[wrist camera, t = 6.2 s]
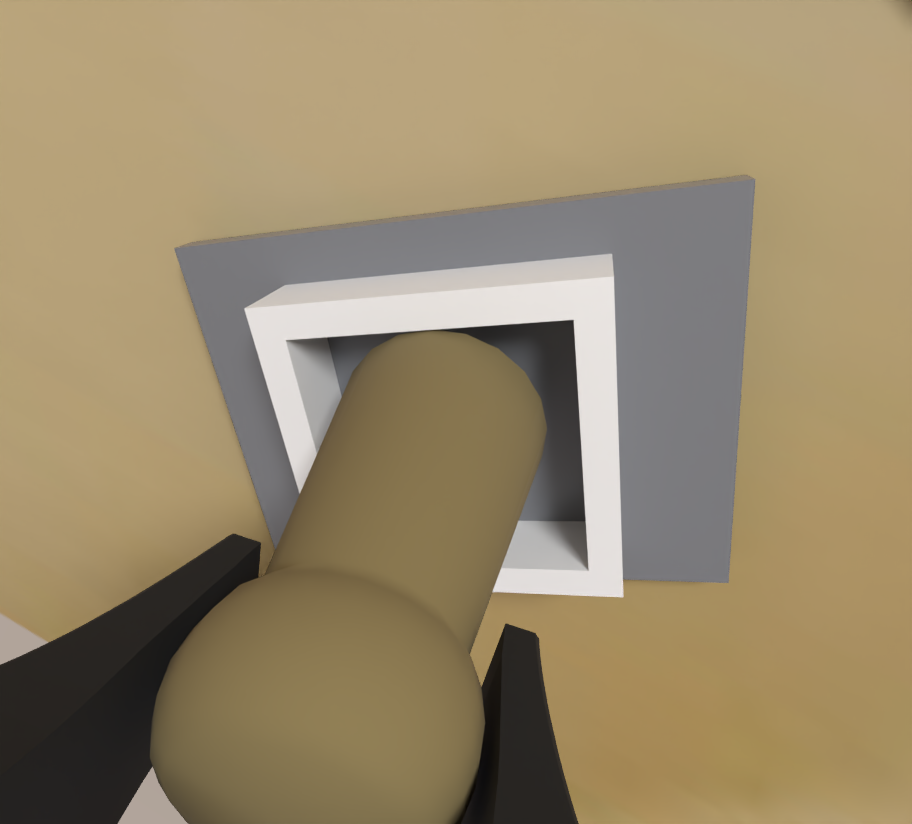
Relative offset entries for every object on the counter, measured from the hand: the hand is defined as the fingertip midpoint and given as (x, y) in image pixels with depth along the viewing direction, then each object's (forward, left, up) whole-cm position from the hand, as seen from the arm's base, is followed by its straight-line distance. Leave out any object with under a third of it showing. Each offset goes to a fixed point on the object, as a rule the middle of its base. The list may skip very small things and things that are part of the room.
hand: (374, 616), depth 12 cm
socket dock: (0, 0, -10) cm, 10 cm away
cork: (+1, 0, -7) cm, 7 cm away
